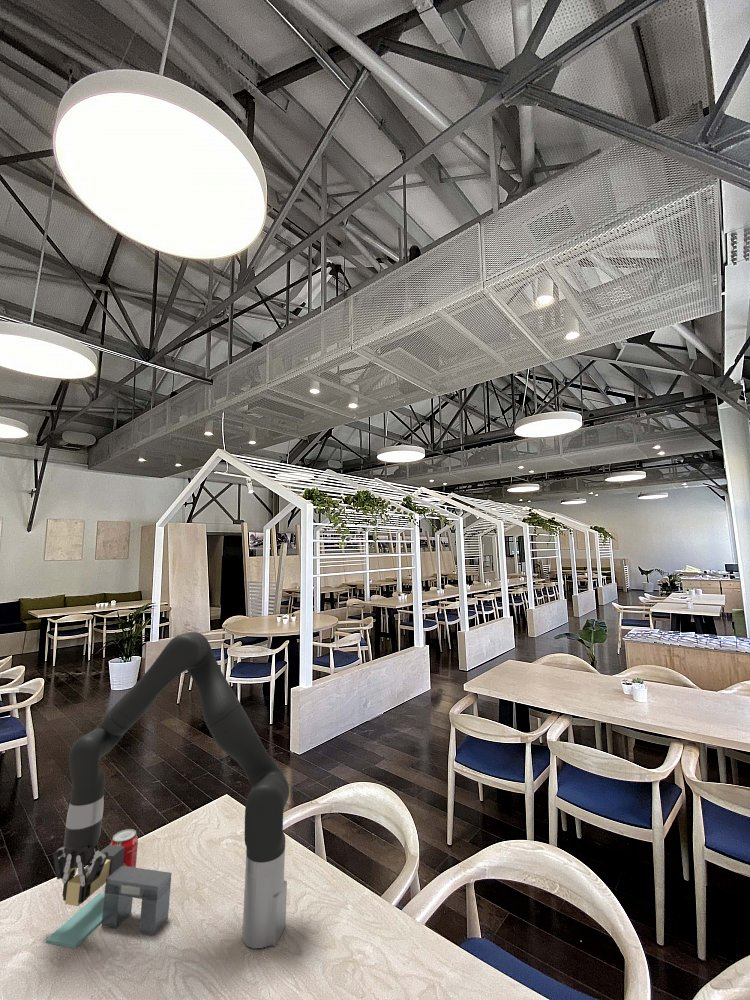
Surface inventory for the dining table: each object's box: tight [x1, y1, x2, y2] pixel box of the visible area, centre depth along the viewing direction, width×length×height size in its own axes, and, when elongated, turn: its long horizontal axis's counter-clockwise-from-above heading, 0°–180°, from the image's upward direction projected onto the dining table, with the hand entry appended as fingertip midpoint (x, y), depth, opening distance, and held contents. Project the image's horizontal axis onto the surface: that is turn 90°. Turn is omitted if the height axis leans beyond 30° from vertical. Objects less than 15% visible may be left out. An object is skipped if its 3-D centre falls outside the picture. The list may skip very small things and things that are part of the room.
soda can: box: [109, 828, 139, 868], centre depth 118 cm, size 7×7×12 cm
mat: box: [45, 892, 105, 949], centre depth 105 cm, size 8×15×1 cm, turn 169°
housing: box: [100, 866, 172, 936], centre depth 104 cm, size 14×5×10 cm, turn 79°
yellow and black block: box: [64, 844, 125, 907], centre depth 107 cm, size 5×13×6 cm, turn 169°
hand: (75, 899), depth 101 cm, fingers closed on yellow and black block, 3 cm apart
